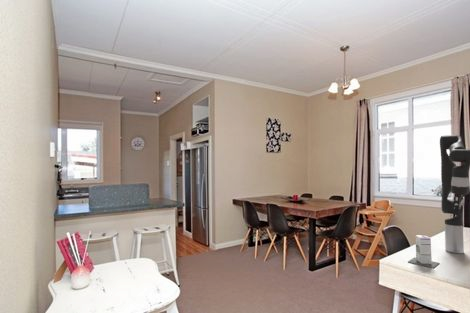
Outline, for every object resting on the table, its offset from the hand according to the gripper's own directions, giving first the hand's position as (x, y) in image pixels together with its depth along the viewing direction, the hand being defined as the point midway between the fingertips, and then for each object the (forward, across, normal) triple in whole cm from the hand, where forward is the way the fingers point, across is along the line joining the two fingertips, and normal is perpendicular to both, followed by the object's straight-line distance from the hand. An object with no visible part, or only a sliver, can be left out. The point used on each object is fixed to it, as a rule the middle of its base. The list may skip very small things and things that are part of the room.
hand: (458, 213), depth 151 cm
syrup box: (+28, +15, -12) cm, 34 cm away
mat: (+28, +14, -12) cm, 34 cm away
